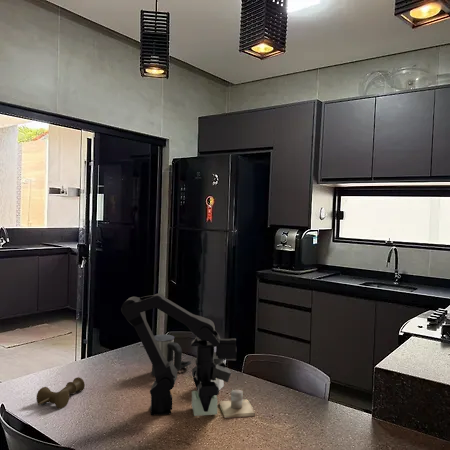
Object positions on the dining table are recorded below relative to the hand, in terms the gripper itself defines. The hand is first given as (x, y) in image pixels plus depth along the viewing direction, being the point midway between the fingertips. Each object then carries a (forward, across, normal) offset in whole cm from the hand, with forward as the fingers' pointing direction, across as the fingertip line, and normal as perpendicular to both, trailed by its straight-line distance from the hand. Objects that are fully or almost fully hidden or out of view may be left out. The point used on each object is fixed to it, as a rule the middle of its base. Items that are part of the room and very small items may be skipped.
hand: (204, 406), depth 141 cm
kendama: (+2, +16, +47) cm, 50 cm away
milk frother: (+2, +38, +8) cm, 39 cm away
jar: (+2, +20, -6) cm, 21 cm away
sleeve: (+1, 0, 0) cm, 1 cm away
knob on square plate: (+2, 0, -11) cm, 11 cm away
